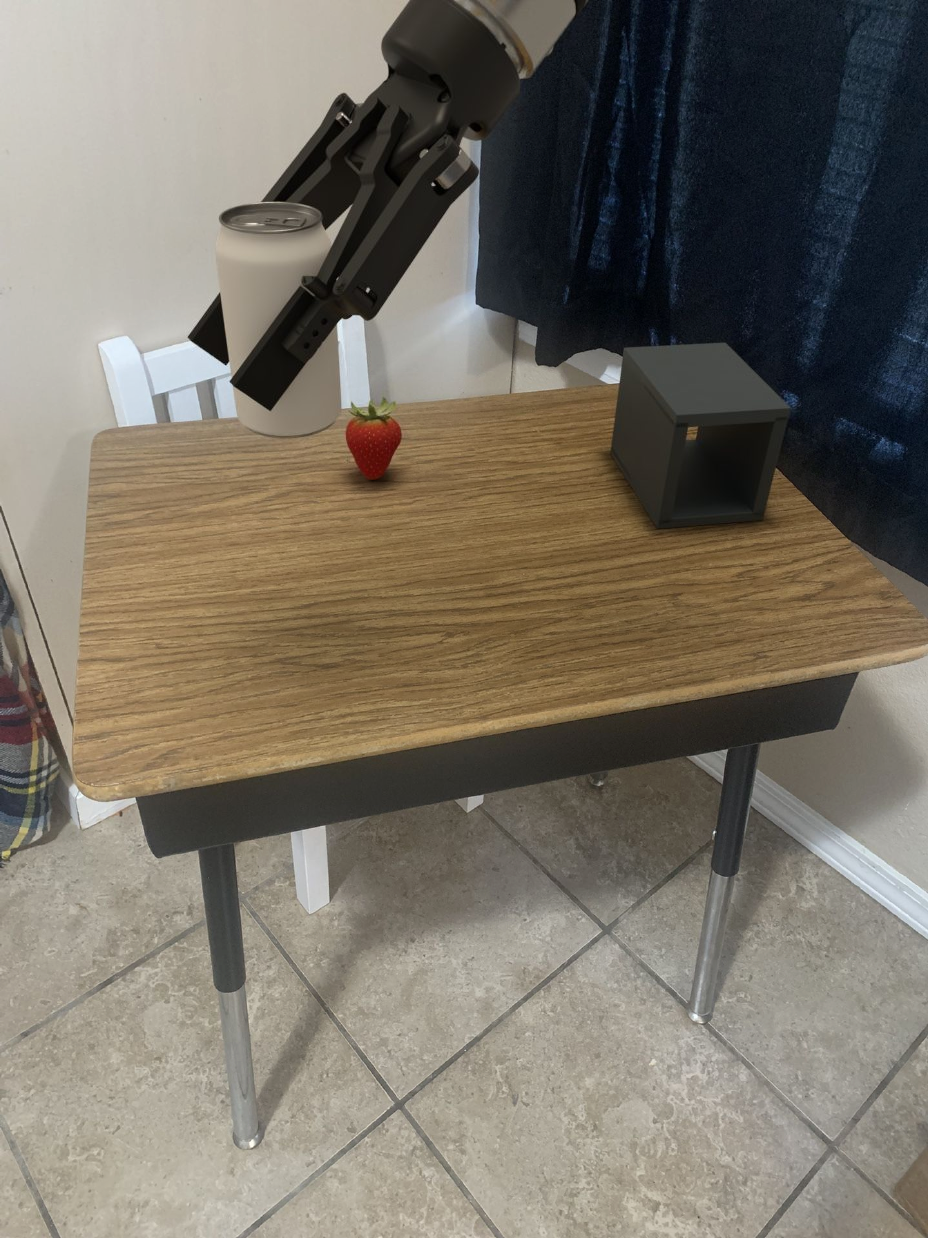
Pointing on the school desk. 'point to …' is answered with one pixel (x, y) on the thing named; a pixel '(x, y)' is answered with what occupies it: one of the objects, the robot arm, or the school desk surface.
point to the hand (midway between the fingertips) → (228, 372)
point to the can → (275, 309)
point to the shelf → (725, 442)
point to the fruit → (373, 438)
